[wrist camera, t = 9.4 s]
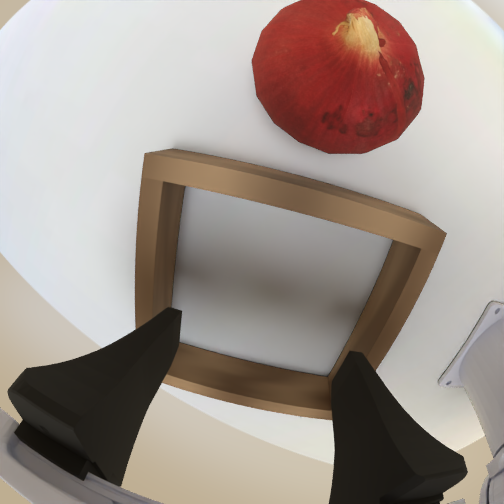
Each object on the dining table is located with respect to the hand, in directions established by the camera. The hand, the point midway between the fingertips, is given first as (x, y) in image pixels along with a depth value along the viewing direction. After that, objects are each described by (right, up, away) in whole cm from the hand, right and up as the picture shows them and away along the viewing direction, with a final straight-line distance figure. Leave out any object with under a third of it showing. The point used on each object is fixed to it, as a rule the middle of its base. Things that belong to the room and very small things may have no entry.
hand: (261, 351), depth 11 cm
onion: (+3, +12, 0) cm, 12 cm away
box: (+1, +2, +4) cm, 5 cm away
